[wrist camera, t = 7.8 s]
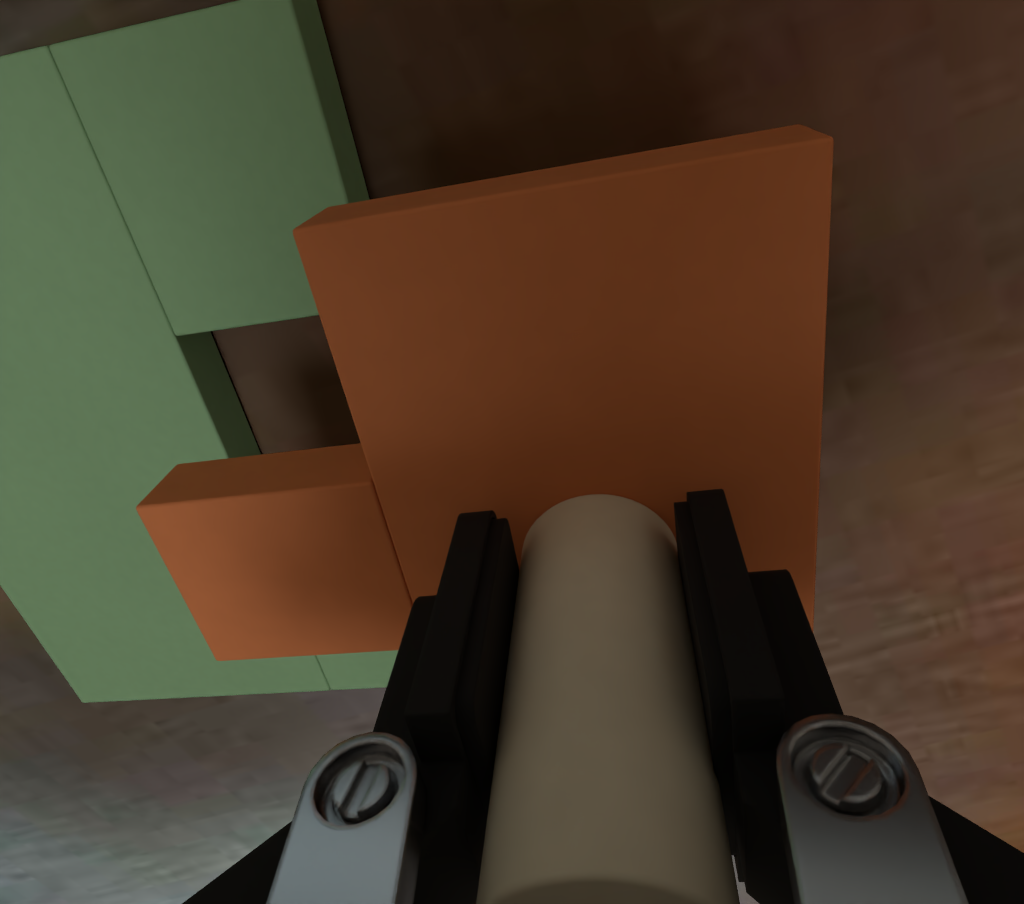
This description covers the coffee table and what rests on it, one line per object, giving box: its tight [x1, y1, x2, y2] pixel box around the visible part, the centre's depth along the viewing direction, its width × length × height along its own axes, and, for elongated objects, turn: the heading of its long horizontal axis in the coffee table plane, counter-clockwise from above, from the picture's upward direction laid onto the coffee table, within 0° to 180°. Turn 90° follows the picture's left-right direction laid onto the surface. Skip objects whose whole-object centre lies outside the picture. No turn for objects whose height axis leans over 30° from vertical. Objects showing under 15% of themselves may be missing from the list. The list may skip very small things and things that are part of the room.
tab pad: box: [136, 124, 834, 904], centre depth 10 cm, size 12×11×8 cm
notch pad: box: [0, 0, 398, 703], centre depth 19 cm, size 18×14×2 cm
